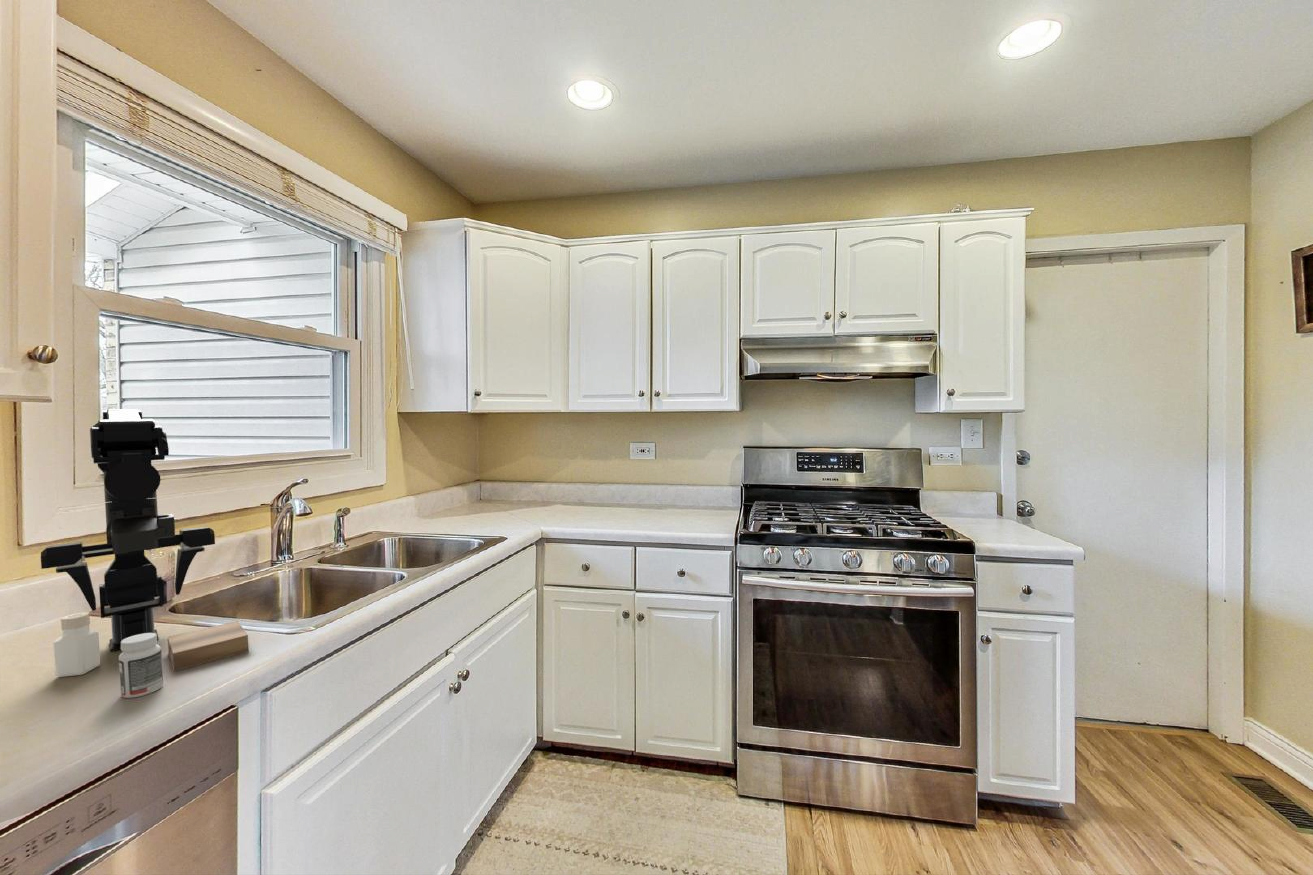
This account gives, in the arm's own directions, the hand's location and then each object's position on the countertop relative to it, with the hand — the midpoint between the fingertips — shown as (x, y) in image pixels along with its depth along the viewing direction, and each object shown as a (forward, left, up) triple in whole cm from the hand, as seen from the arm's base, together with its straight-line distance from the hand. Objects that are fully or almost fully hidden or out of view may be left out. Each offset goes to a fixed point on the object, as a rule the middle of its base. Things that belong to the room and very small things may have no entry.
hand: (137, 601), depth 82 cm
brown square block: (-10, +9, -14) cm, 19 cm away
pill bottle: (0, 0, -14) cm, 14 cm away
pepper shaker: (-17, -7, -14) cm, 23 cm away
